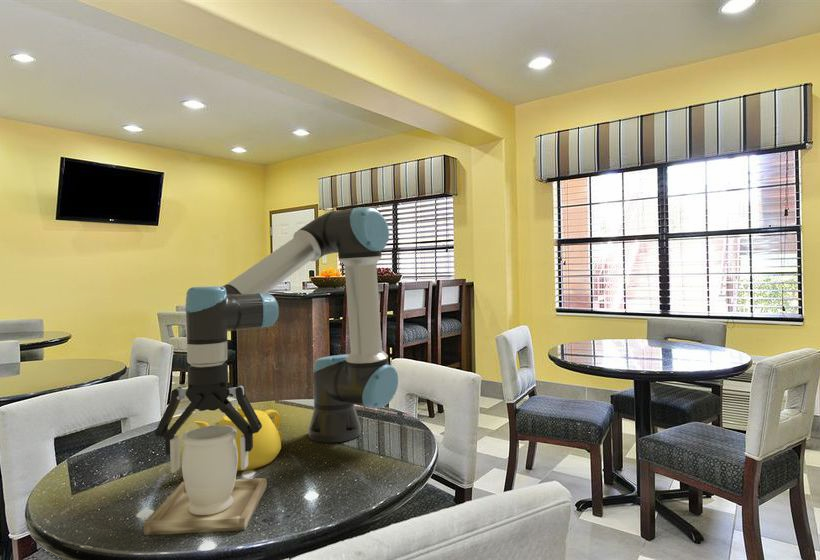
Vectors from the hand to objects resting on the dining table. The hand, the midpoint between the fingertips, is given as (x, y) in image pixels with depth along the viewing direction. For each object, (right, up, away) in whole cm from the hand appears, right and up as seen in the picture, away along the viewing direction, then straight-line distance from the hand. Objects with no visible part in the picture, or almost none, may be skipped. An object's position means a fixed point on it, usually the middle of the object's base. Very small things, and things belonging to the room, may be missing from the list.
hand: (210, 468), depth 99 cm
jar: (0, -8, 0) cm, 8 cm away
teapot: (-3, -8, +26) cm, 27 cm away
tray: (0, -8, 0) cm, 8 cm away
